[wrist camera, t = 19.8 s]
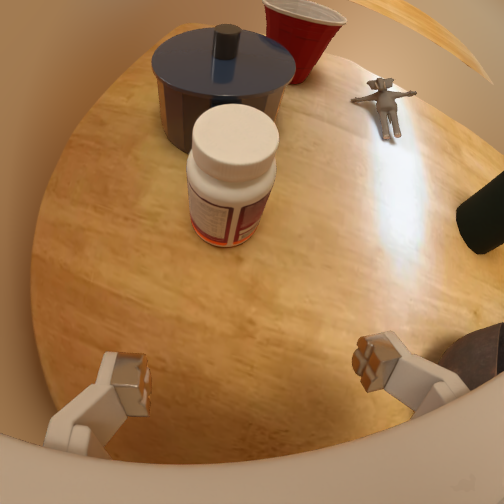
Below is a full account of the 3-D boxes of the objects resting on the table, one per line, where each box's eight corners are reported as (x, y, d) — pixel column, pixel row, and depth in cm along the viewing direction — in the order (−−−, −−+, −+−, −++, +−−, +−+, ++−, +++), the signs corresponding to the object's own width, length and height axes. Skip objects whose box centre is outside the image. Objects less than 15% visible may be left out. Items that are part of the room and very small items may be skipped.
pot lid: (141, 109, 20) (135, 69, 16) (161, 36, 25) (161, 7, 21) (307, 110, 22) (322, 74, 19) (280, 39, 27) (288, 11, 23)
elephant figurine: (351, 134, 33) (342, 77, 33) (361, 148, 38) (353, 96, 38) (426, 127, 28) (411, 68, 28) (426, 143, 33) (414, 88, 33)
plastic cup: (314, 61, 39) (336, 2, 28) (328, 100, 35) (359, 31, 24) (248, 51, 37) (260, -13, 26) (249, 89, 34) (265, 10, 22)
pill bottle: (254, 188, 28) (280, 99, 17) (261, 248, 26) (298, 172, 15) (189, 190, 27) (186, 97, 16) (190, 251, 25) (182, 172, 14)
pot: (156, 184, 27) (143, 121, 19) (170, 77, 33) (168, 25, 25) (284, 181, 29) (309, 123, 21) (262, 77, 35) (274, 27, 27)
